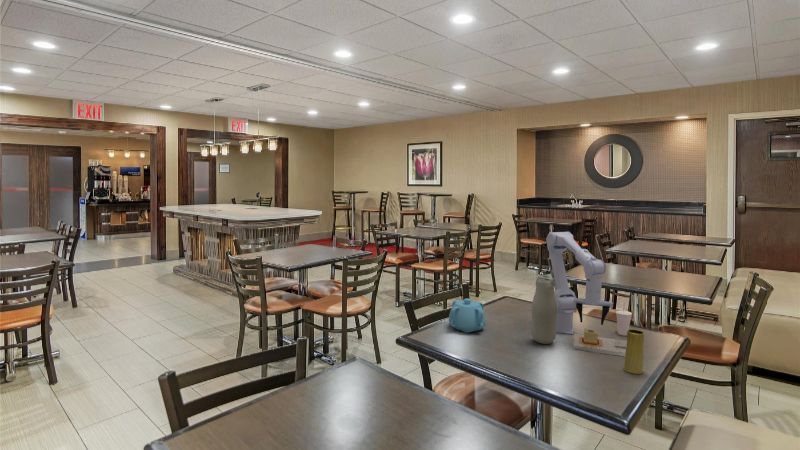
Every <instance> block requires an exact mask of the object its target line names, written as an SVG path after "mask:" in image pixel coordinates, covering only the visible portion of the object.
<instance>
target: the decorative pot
mask: <svg viewBox="0 0 800 450" xmlns="http://www.w3.org/2000/svg"><path fill="white" fill-rule="evenodd" d="M451 306H452V307H451V309H450V311H449V314H448V322H449V325H450V326H451V327H452V328H453V329H455V330H458V331H462V332H463V333H465V334H469V333H471V332H477V331H480V330H483V328H484V327H486V323H487V320H486V318H487V317H486V314H485V311H484V307H485V306H484V303H482V302H481V301H473V300H472V299H471V298H463V300H454V301H453V302H452V305H451Z"/></svg>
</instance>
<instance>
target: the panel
mask: <svg viewBox="0 0 800 450" xmlns="http://www.w3.org/2000/svg"><path fill="white" fill-rule="evenodd" d="M626 345H627V340H625V339H624V340H623V339H616V338H608V337H601V336H598V339H597V345H592V344H585V343H584V334H578V333H574V336H573V348H572V350H579V351H584V352H592V353H596V354H597V353H598V354H605V355H611V356H618V357H624V358H625V354H626Z"/></svg>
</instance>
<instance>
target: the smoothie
mask: <svg viewBox="0 0 800 450" xmlns="http://www.w3.org/2000/svg"><path fill="white" fill-rule="evenodd" d="M625 304H626V302H623V304H622V310H616V311H615V314H616V325H617V327H616V328H617V335H620V336H623V337H624V336H625V337H627V330H629V329H630V324H631V320H632V319H631V318H632V317H633V313H632V312H630V311H627V310H625V306H626V305H625Z"/></svg>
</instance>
